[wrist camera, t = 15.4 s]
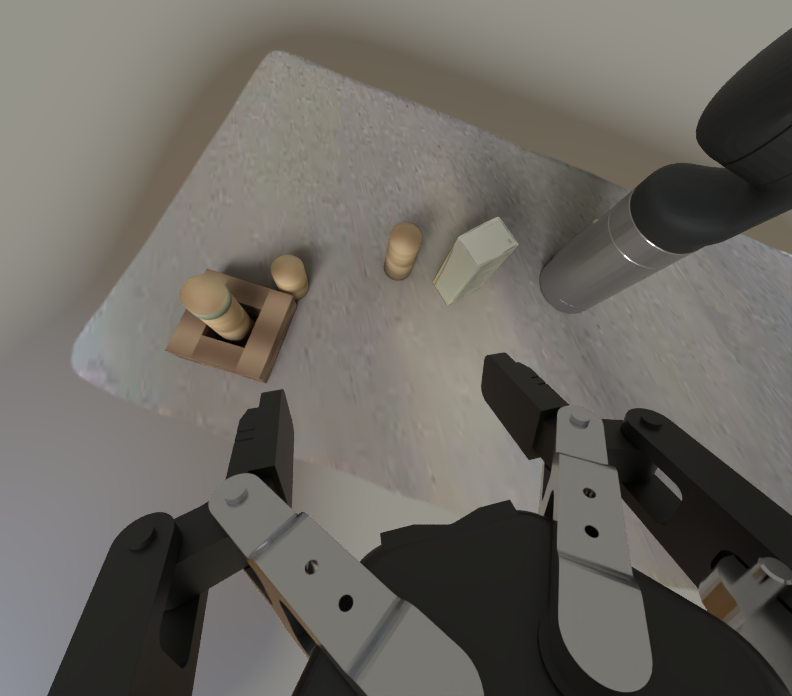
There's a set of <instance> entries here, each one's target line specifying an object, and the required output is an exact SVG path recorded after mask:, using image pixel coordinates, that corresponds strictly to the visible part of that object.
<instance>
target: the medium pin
mask: <svg viewBox="0 0 792 696" xmlns="http://www.w3.org/2000/svg"><path fill="white" fill-rule="evenodd" d="M421 243H422V233H421V231H420V230H419V229H418V228H417V227H416V226H415V225H413V224H411V223H399V224H397V225H396V226H394V227H393V229H392V231H391V234H390V239H389V244H388V249H387V253H386V258H385V263H384V271H385V273H386V275H387V276H388V277H389V278H391V279H393V280H398V281H399V280H404V279H406V278H407V277H408V276H409V274H410V272H411V269H412V267H413V264H414V261H415V259H416V256H417V253H418V251H419V248H420V245H421Z"/></svg>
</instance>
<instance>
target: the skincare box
mask: <svg viewBox="0 0 792 696" xmlns="http://www.w3.org/2000/svg"><path fill="white" fill-rule="evenodd" d="M518 245H519V244H518V242H517V241H516V240H515V238H514V237H513V235H512V234H511V233H510V231H509V230H508V229H507V227H506V226H505V224H504V223H503V222H502V220H501V219H500V218H499V217H496V218H493V219H491V220H489V221H487V222H485V223H483V224H481V225H479V226H477V227H475V228H474V229H472V230H470V231H468V232H466V233H464V234H462V235H461V236H459V237H458V238H457V240H456V242H455V244H454V246H453V247H452V249H451V251H450V253H449V254H448V256H447V258H446V260H445V261H444V263H443V265H442V267H441V268H440V270H439V272H438V274H437V276H436V277H435V279H434V281H433V283H434V285H435V287H436V288H437V290H438V291H439V293H440V294H441V296H442V297H443V299H444V300H445V302H446V303H447V305H449V304H451V303H453V302H455V301H457V300H459V299H461V298H463V297H464V296H466V295H468V294H470V293H471V292H473V291H475V290H477V289H478V288H480V287H481V286H482V285H483V283H484V282H485V281H486V280H487V279H488V278H489V277H490V276H491V275H492V274H493V273H494V271H495V270H496V269H497V268H498V267H499V266H500V265H501V264H502V263H503V262H504V260H505V259H506V258H507V257H508V256H509V255H510V254H511V253H512V252H513V251H514V249H515V248H516V247H517V246H518Z"/></svg>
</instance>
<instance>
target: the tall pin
mask: <svg viewBox="0 0 792 696" xmlns="http://www.w3.org/2000/svg"><path fill="white" fill-rule="evenodd" d="M180 298H181V301H182V303H183V305H184V306H185V307H186V308H187V309H188V310H189V311H190V312H191V313H192V314H194V315H195V316H196V317H198V318H199V319H201V320H202V321H203V322H204V323H206V324H207V325H208V326H209V327H211V328H212V329H213V330H214V331H216V332H217V333H218V334H219V335H221V336H222V337H223V338H224V339H226V340H227V341H228V342H229V343H231V344H233V345H236V346H245V345H246V344H247V342H248V339H249V337H250V335H251V333H252V330H253V328H254V326H255V323H254V321H253V320H252V319H251V318H250V316H249V315H248V314H247V313H246V311H245V310H244V309H243V308H242V307H241V305H240V304H239V303H238V302H237V300H236V299H235V298H234V297H233V295H232V294H231V293H230V291H229V290H228V288H227V287H226V286H225V285H224V283H223V282H221V281H220V280H219V279H218V278H216V277H215V276H212V275H207V274H202V275H197V276H194V277H192V278H190V279H189V280H188V281H186V282H185V284H184V285H183V287H182V289H181V292H180Z"/></svg>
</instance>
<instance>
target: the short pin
mask: <svg viewBox="0 0 792 696" xmlns="http://www.w3.org/2000/svg"><path fill="white" fill-rule="evenodd" d="M271 274H272V276H273V278H274V280H275V282H276V285H277V287H278V289H279V291H280V292H282V293H286V294H289V295H292V296H293V297H294V300H298V299H301V298H303V297H304V296H305V295H306V294H307V292H308V290H309V284H308V280H307V276H306V272H305V268H304V265H303V263H302V261H301V260H300V259H299V258H298V257H296V256H293V255H282V256H280V257H278V258H276V259H275V260H274V261H273V263H272V265H271Z"/></svg>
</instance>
